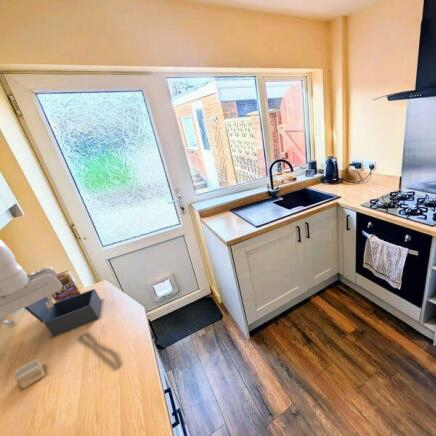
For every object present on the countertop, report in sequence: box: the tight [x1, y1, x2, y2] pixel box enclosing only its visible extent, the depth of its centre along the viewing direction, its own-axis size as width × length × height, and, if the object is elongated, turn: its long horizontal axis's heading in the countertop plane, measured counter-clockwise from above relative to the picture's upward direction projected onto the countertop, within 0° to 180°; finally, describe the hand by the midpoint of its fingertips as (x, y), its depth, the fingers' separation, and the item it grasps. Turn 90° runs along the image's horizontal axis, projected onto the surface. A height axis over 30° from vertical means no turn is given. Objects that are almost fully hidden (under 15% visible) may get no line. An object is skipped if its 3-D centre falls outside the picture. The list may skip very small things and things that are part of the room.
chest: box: [43, 288, 102, 337], centre depth 102 cm, size 15×13×8 cm
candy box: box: [52, 269, 83, 303], centre depth 110 cm, size 9×4×15 cm, turn 126°
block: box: [15, 358, 45, 389], centre depth 79 cm, size 5×5×5 cm
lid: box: [24, 297, 54, 324], centre depth 93 cm, size 15×13×1 cm
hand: (32, 315), depth 82 cm, fingers open, 8 cm apart
